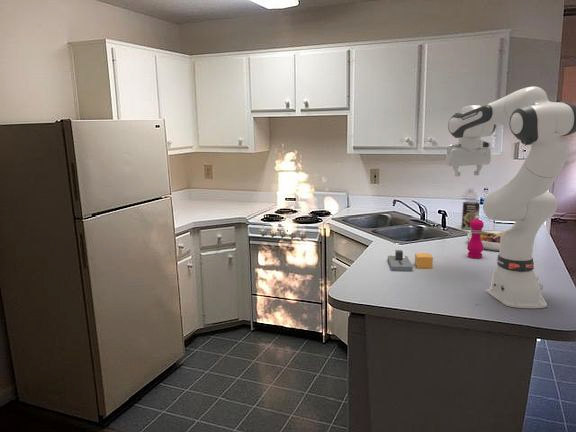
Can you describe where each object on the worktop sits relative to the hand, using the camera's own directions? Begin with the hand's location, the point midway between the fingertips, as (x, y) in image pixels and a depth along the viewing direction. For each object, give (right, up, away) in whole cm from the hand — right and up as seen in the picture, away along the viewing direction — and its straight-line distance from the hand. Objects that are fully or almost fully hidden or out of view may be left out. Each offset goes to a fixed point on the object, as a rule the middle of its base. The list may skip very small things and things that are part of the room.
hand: (467, 175), depth 201 cm
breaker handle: (-27, -37, +12) cm, 47 cm away
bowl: (+32, -33, +42) cm, 62 cm away
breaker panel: (-27, -40, +10) cm, 49 cm away
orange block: (-17, -40, +8) cm, 44 cm away
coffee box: (+32, -26, +79) cm, 89 cm away
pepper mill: (+12, -37, +21) cm, 45 cm away
